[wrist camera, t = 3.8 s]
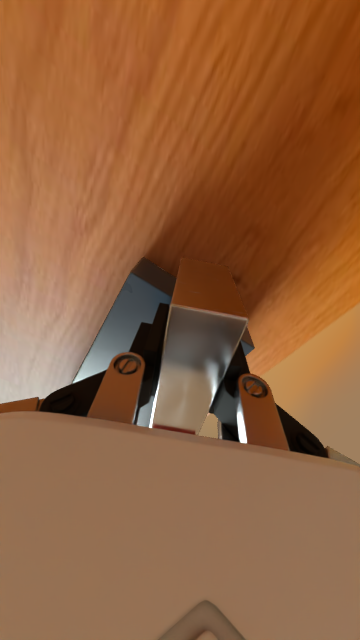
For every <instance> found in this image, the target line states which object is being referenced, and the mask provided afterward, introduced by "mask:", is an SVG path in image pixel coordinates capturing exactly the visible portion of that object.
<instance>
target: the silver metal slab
mask: <svg viewBox="0 0 360 640" xmlns="http://www.w3.org/2000/svg"><path fill="white" fill-rule="evenodd" d="M248 321H249V317H248V315H247V312H246V310H245V308H244V305H243V303H242V300H241V298H240V295H239V293H238V290H237V288H236V285H235V283H234V280H233V278H232V276H231V273H230V271H229V268H228V267H227V266H224V265H219V264H214V263H209V262H204V261H199V260H194V259H189V258H184V257H183V258H181V262H180V266H179V270H178V274H177V278H176V282H175V286H174V290H173V294H172V298H171V302H170V307H169V313H168V319H167V325H166V331H165V337H164V343H163V349H162V355H161V361H160V367H159V373H158V379H157V384H156V390H155V396H154V402H153V408H152V414H151V420H150V426H149V427H151V428H157V429H163V430H169V431H175V432H181V433H187V434H193V435H198V434H199V432H200V429H201V427H202V425H203V423H204V420H205V418H206V416H207V414H208V411H209V409H210V407H211V405H212V402H213V400H214V398H215V396H216V393H217V391H218V389H219V387H220V384H221V382H222V380H223V378H224V375H225V373H226V371H227V369H228V366H229V364H230V362H231V360H232V357H233V355H234V353H235V351H236V348H237V346H238V344H239V342H240V339H241V337H242V335H243V333H244V330H245V328H246V326H247V324H248Z"/></svg>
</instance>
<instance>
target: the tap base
mask: <svg viewBox="0 0 360 640" xmlns="http://www.w3.org/2000/svg"><path fill="white" fill-rule="evenodd" d="M175 282H176V278H175V277H174V276H172V275H171V274H169V273H168V272H166V271H165V270H163V269H162V268H160V267H158V266H157V265H155V264H154V263H152V262H151V261H149V260H148V259H146V258H145V257H143V258H142V259H141V260H140V261H139V262H138V264H137V265H136V266H135V267H134V268H133V269H132V271H131V272H130V274H129V275H128V277H127V279H126V281H125V283H124V285H123V287H122V289H121V291H120V293H119V294H118V296H117V298H116V300H115V302H114V304H113V306H112V308H111V310H110V312H109V313H108V315H107V317H106V319H105V321H104V323H103V325H102V327H101V329H100V331H99V332H98V334H97V336H96V338H95V340H94V342H93V344H92V346H91V348H90V350H89V352H88V353H87V355H86V357H85V359H84V361H83V363H82V365H81V367H80V369H79V371H78V372H77V374H76V376H75V378H74V380H73V382H72V384H73V383H75V382H78V381H80V380H83V379H85V378H87V377H90V376H92V375H95V374H97V373H99V372H102V371H104V370H106V369H108V366H109V364H110V362H111V360H112V359H113V358H114V357H115V356H116V355H118V354H120V353H124V352H129V350H130V347H131V345H132V343H133V340H134V338H135V336H136V333H137V331H138V329H139V326H140V324H141V322H145V323H150V324H152V323H153V320H154V317H155V314H156V312H157V309H158V306H159V303H165V304H169V307H170V302H171V298H172V294H173V290H174V286H175ZM240 341H241V343H242V347H243V350H244V354H245V356H246V355H247V354H249V353H250V352H251V351H252V350H253V349H254V348H255V347H254V344H253V342H252V339H251V336H250V334H249V331H248V328H247V326H246V328H245V330H244V333H243V335H242V337H241V339H240ZM153 402H154V396H151V398H150V403H148V404H146V405H144V406H143V407H141V409H140V414H139V419H138V424H137V425H138V426H144V427H149V426H150V420H151V414H152V408H153Z"/></svg>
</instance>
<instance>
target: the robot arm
mask: <svg viewBox="0 0 360 640" xmlns="http://www.w3.org/2000/svg"><path fill="white" fill-rule="evenodd" d="M168 313H169V304H165V303H159V306H158V309H157V312H156V314H155V317H154V320H153V323H152V324H150V323H145V322H141V324H140V326H139V329H138V331H137V333H136V336H135V338H134V340H133V343H132V345H131V347H130V350H129V352H124V353H120V354H118V355H116V356H115V357H114V358H113V359H112V360H111V362H110V364H109V366H108V369H106V370H104V371H102V372H99V373H97V374H95V375H92V376H90V377H87V378H85V379H83V380H80V381H78V382H75V383H73V384H71V385H68V386H66V387H63V388H61V389H59V390H57V391H55V392H53V393H51V394H50V395H49V396H47V397H46V398H45V399H40V400H39V397H35V398H30V399H24V400H19V401H13V402H8V403H2V404H0V640H360V464H358V463H357V462H355V461H353V460H351V459H350V458H348V457H346V456H344V455H342V454H341V453H339V452H337V451H335V450H333V449H332V448H330V447H328V446H327V447H326V448H324V447H323V445H322V444H321V442H320V441H319V439H318V438H317V437H315V436H314V435H313V434H312V433H311V432H310V431H309V430H307V429H306V428H305V427H304V426H303V425H301V424H300V423H299V422H298V421H296V420H295V419H294V418H293V417H292V416H290V415H289V414H288V413H287V412H285V411H284V410H283V409H282V408H281V407H279V406H278V405H277V404H276V403H275V401H274V398H273V395H272V392H271V389H270V387H269V385H268V384H267V383H266V382H265V381H264V380H263V379H262V378H260V377H259V376H257V375H254V374H250V371H249V368H248V364H247V361H246V357H245V354H244V350H243V347H242V343H241V341H240V342H239V344H238V346H237V348H236V351H235V353H234V355H233V357H232V360H231V362H230V364H229V366H228V369H227V371H226V373H225V375H224V378H223V380H222V382H221V384H220V387H219V389H218V391H217V393H216V396H215V398H214V400H213V402H212V405H211V407H210V409H209V413H212V414H214V415H216V417H217V418H218V439H216V438H210V437H204V436H199V435H193V434H187V433H181V432H175V431H169V430H163V429H157V428H151V427H144V426H138V425H137V424H138V419H139V414H140V409H141V407H143V406H144V405H146V404H148V403H150V398H151V396H155V390H156V384H157V379H158V373H159V367H160V361H161V355H162V349H163V343H164V337H165V331H166V325H167V319H168Z"/></svg>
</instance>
